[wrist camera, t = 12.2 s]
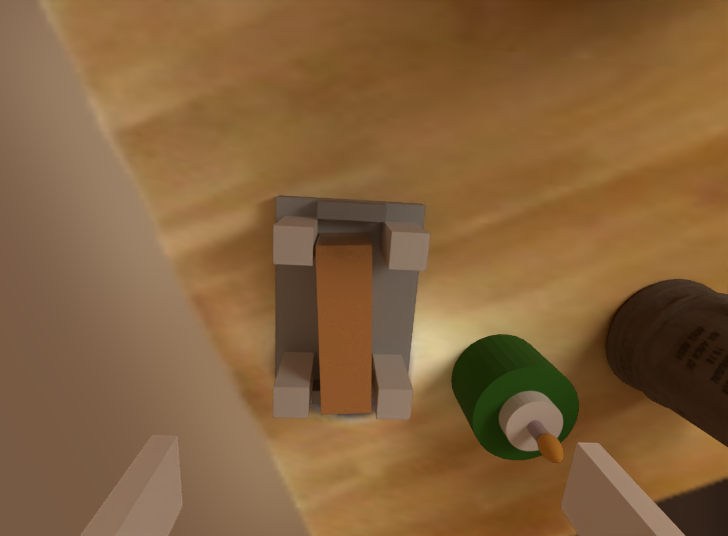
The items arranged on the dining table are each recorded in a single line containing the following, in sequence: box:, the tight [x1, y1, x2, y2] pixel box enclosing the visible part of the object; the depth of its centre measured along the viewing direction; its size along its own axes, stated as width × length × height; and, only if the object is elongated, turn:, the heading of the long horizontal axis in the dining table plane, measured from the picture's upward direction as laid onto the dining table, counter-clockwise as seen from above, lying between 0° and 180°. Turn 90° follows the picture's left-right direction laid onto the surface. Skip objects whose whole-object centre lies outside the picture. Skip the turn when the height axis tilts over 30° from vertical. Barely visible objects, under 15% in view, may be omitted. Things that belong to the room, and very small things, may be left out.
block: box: [316, 232, 372, 415], centre depth 26 cm, size 12×4×5 cm, turn 0°
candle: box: [452, 334, 579, 463], centre depth 28 cm, size 8×8×10 cm
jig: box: [273, 196, 430, 419], centre depth 27 cm, size 16×11×6 cm
